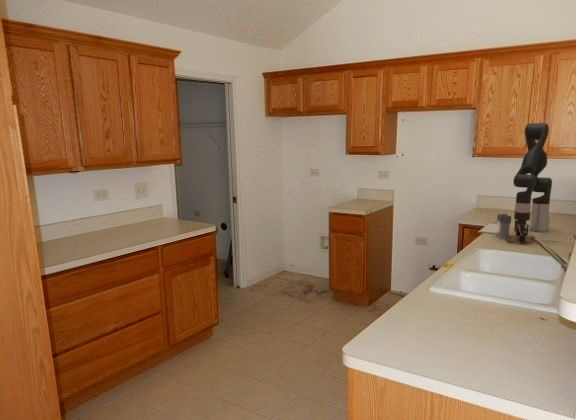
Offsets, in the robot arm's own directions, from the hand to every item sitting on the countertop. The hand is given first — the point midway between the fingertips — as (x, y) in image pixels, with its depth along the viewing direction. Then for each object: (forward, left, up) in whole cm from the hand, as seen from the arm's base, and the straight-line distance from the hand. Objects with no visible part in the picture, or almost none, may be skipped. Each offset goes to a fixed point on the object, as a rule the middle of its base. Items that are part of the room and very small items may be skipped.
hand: (520, 240), depth 226 cm
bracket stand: (0, -13, -1) cm, 13 cm away
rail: (0, 0, -1) cm, 1 cm away
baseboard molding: (+5, -38, -2) cm, 38 cm away
